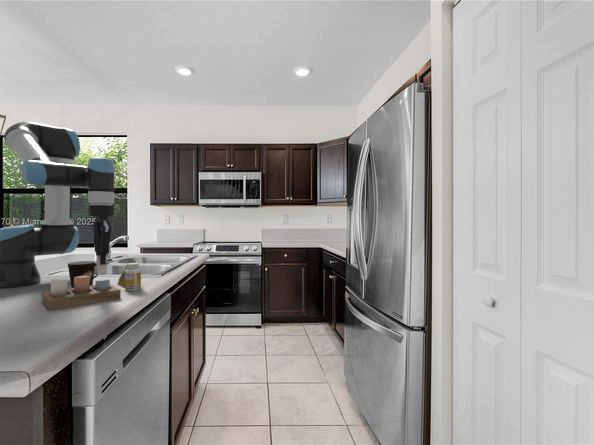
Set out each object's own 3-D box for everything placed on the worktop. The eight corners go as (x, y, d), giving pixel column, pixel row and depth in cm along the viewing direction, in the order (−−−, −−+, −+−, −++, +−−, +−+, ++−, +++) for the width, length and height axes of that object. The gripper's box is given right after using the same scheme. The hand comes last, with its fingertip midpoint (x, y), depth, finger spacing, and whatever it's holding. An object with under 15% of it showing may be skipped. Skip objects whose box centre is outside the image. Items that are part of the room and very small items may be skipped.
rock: (147, 280, 125) (147, 273, 134) (132, 264, 122) (132, 257, 131) (122, 299, 123) (123, 290, 131) (106, 283, 119) (108, 274, 128)
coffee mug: (69, 293, 114) (69, 265, 114) (66, 289, 121) (66, 262, 121) (107, 288, 122) (106, 262, 122) (102, 284, 129) (102, 259, 128)
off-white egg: (50, 295, 102) (49, 279, 101) (66, 293, 105) (65, 277, 104) (52, 298, 99) (52, 281, 99) (68, 295, 102) (68, 279, 101)
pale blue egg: (94, 294, 110) (93, 280, 110) (107, 292, 113) (107, 278, 113) (97, 297, 107) (97, 282, 107) (111, 294, 110) (111, 280, 110)
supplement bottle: (138, 287, 125) (137, 262, 124) (143, 289, 121) (142, 263, 120) (122, 289, 121) (122, 263, 121) (127, 291, 117) (127, 265, 117)
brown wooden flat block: (42, 301, 104) (42, 291, 104) (108, 291, 118) (108, 283, 118) (49, 310, 94) (49, 300, 94) (120, 298, 108) (120, 289, 108)
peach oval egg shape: (72, 292, 106) (72, 277, 106) (87, 290, 109) (87, 275, 109) (75, 294, 103) (75, 278, 103) (91, 292, 106) (90, 277, 106)
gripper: (119, 204, 107) (120, 275, 108) (108, 204, 117) (108, 269, 118) (93, 204, 102) (94, 278, 103) (83, 204, 111) (84, 272, 112)
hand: (101, 273), depth 110 cm, fingers closed
